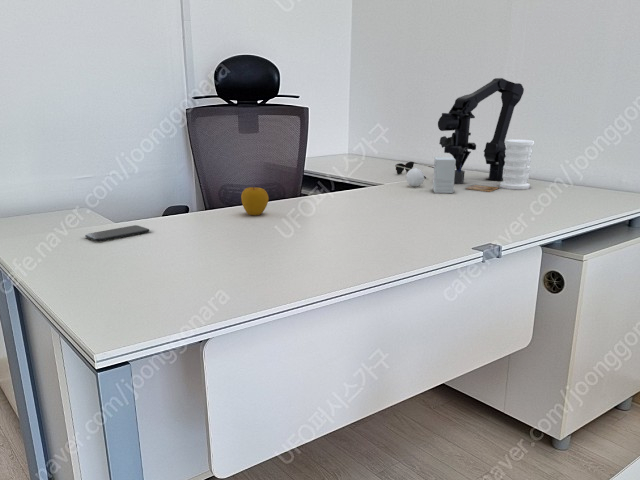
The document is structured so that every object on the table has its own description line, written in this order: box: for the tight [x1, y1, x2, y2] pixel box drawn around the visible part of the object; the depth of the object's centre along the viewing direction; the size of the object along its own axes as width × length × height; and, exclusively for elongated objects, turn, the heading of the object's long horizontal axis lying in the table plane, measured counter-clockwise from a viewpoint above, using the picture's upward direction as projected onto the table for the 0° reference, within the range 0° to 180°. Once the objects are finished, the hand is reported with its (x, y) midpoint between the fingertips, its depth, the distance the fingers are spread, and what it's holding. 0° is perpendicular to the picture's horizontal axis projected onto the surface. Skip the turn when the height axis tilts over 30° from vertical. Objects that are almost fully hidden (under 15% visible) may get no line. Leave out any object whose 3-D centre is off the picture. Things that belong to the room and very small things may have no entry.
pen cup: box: [454, 169, 465, 185], centre depth 246 cm, size 5×5×5 cm
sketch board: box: [465, 184, 500, 193], centre depth 234 cm, size 10×10×1 cm
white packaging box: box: [432, 156, 456, 194], centre depth 226 cm, size 7×7×13 cm
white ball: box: [405, 167, 425, 187], centre depth 238 cm, size 10×7×7 cm
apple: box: [240, 186, 270, 217], centre depth 188 cm, size 9×8×9 cm
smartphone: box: [84, 224, 150, 242], centre depth 164 cm, size 8×1×16 cm
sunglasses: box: [394, 161, 434, 180], centre depth 265 cm, size 14×16×5 cm
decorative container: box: [499, 138, 535, 190], centre depth 235 cm, size 12×12×18 cm
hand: (458, 169), depth 245 cm, fingers closed
